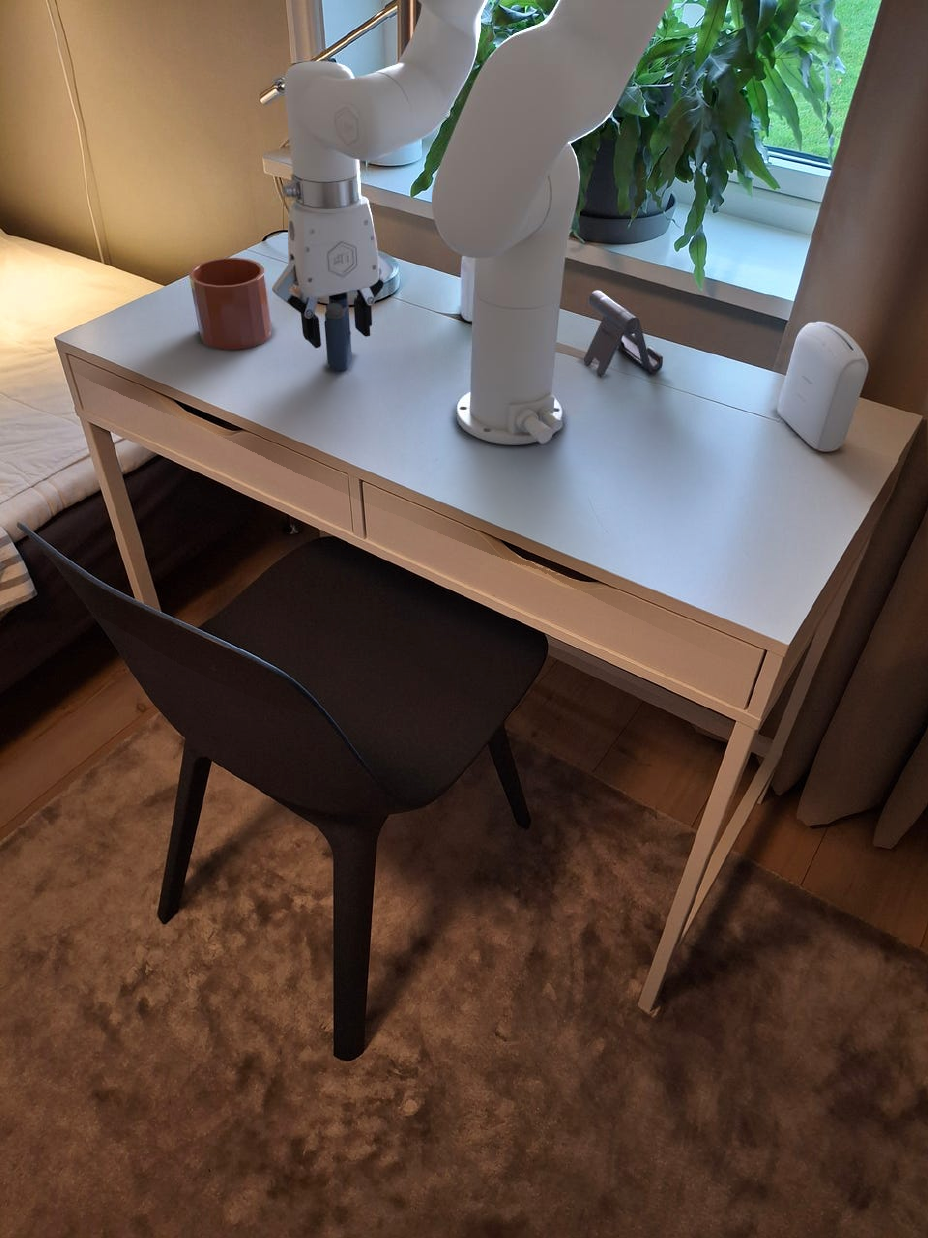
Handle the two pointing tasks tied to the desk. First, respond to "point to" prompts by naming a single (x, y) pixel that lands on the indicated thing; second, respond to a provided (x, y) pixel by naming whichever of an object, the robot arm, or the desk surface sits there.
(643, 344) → the tablet stand
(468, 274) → the eye dropper bottle
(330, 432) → the desk surface
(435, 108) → the robot arm
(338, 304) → the vaping device
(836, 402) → the photo printer
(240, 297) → the pen cup
